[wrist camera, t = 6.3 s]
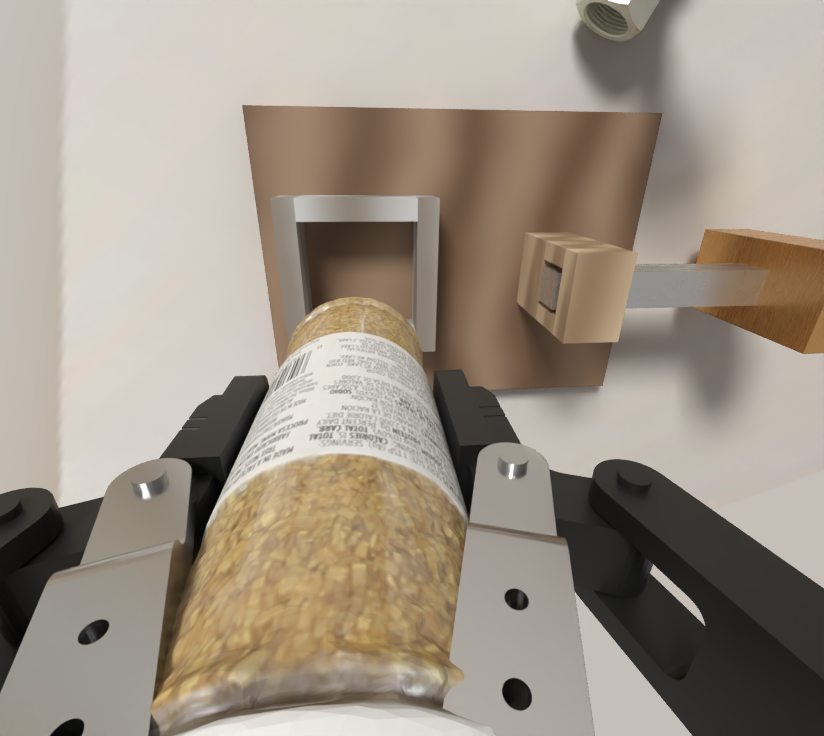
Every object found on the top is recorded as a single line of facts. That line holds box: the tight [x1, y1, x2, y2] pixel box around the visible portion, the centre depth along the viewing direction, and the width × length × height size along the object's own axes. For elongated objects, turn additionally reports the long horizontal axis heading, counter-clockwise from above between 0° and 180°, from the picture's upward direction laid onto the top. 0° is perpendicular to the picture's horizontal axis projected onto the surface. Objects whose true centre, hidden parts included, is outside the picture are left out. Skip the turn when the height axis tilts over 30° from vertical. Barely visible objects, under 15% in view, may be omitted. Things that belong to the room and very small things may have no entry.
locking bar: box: [539, 229, 824, 354], centre depth 24 cm, size 15×5×9 cm, turn 90°
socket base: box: [242, 105, 662, 392], centre depth 25 cm, size 24×18×9 cm
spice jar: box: [150, 297, 495, 736], centre depth 8 cm, size 5×4×14 cm
